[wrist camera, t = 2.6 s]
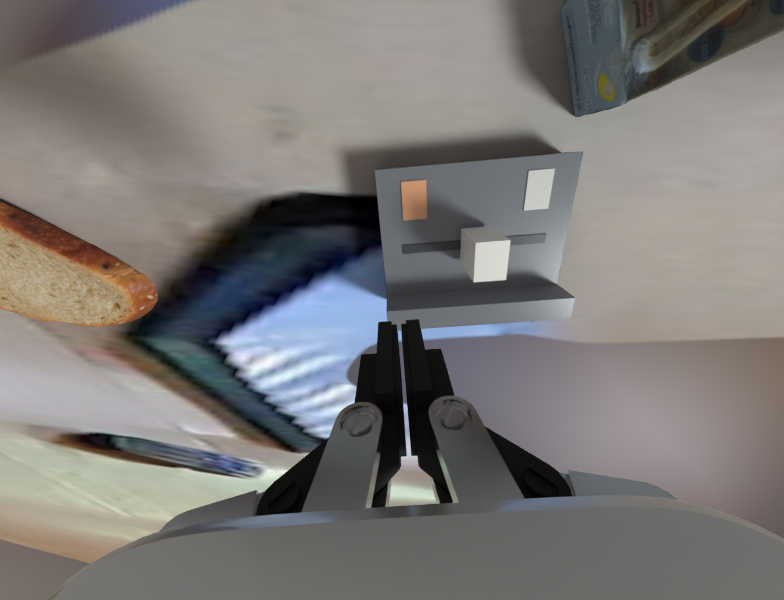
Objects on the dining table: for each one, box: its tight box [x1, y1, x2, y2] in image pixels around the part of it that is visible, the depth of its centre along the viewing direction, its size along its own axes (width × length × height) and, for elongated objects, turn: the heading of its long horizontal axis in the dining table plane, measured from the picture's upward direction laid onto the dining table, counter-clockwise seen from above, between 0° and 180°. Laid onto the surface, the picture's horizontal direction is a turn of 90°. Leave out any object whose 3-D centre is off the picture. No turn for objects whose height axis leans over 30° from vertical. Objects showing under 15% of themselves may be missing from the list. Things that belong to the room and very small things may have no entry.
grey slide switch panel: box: [375, 152, 583, 330], centre depth 24 cm, size 16×13×6 cm
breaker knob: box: [460, 226, 511, 282], centre depth 22 cm, size 2×3×4 cm
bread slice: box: [0, 201, 157, 327], centre depth 26 cm, size 18×18×4 cm
